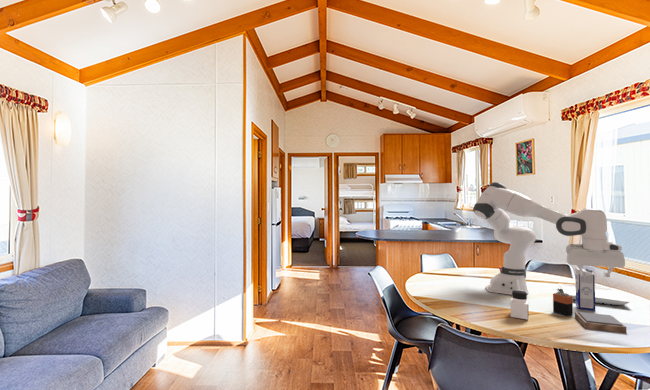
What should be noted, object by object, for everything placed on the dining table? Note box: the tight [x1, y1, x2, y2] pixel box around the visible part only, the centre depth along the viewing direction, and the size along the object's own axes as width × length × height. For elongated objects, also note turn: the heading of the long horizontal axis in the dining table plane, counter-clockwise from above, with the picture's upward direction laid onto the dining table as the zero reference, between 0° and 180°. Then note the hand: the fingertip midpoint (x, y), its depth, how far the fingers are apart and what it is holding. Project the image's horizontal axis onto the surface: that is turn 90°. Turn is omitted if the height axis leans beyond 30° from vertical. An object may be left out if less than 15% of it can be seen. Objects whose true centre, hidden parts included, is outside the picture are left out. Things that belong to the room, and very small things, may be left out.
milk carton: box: [574, 266, 596, 312], centre depth 169 cm, size 7×7×20 cm
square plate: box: [557, 283, 630, 306], centre depth 188 cm, size 27×27×4 cm
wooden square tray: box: [574, 311, 627, 334], centre depth 147 cm, size 14×14×3 cm
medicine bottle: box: [510, 290, 529, 321], centre depth 158 cm, size 7×7×12 cm
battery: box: [552, 291, 574, 317], centre depth 161 cm, size 4×7×10 cm, turn 21°
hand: (594, 276), depth 147 cm, fingers open, 7 cm apart
